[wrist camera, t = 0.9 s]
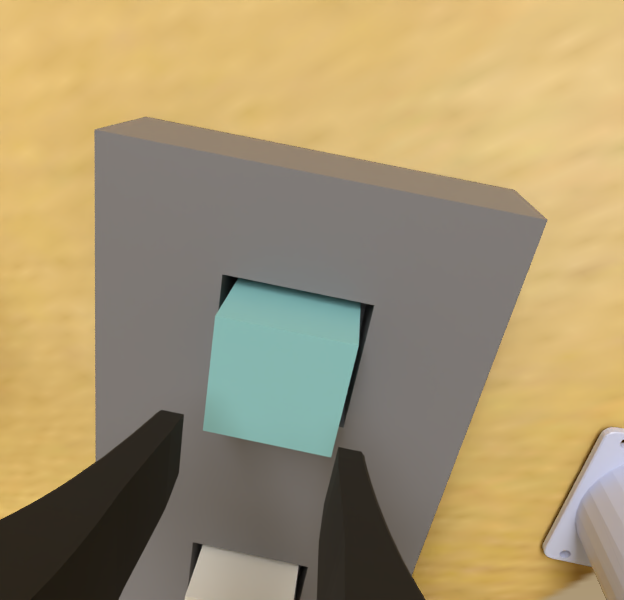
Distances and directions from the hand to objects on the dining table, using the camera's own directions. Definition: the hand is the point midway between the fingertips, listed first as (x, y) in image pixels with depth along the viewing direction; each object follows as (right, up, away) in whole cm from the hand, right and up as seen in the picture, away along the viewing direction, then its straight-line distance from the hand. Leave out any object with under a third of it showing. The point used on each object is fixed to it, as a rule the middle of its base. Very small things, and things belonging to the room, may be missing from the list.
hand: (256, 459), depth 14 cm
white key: (-2, -9, +11) cm, 14 cm away
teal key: (+1, +3, +6) cm, 6 cm away
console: (0, -2, +11) cm, 11 cm away
